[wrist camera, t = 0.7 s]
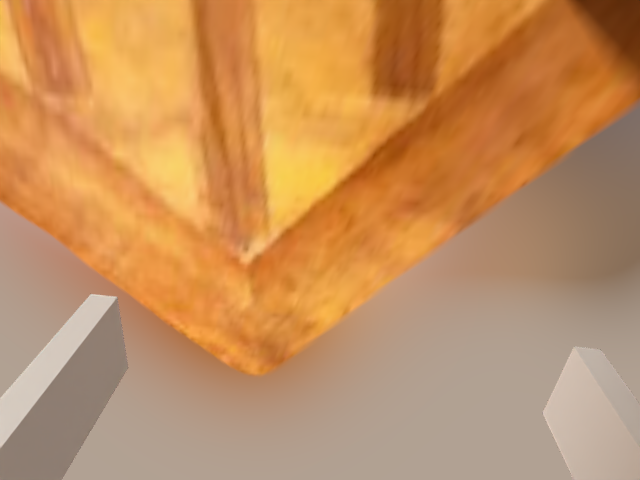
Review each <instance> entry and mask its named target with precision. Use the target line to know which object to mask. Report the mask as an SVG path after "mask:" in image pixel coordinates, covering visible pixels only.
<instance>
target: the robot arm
mask: <svg viewBox="0 0 640 480" xmlns="http://www.w3.org/2000/svg"><path fill="white" fill-rule="evenodd" d="M127 369H128V363H127V356H126V350H125V344H124V337H123V330H122V324H121V317H120V312H119V304H118V297H114V296H104V295H95V294H90V296H89V297H88V298H87V299H86V300H85V301H84V303H83V304H82V305H81V306H80V307H79V308H78V310H77V311H76V312H75V313H74V314H73V315H72V316H71V318H70V319H69V320H68V321H67V322H66V323H65V324H64V326H63V327H62V328H61V329H60V330H59V331H58V332H57V334H56V335H55V336H54V337H53V338H52V339H51V341H50V342H49V343H48V344H47V345H46V346H45V348H44V349H43V350H42V351H41V352H40V353H39V354H38V355H37V357H36V358H35V359H34V360H33V361H32V362H31V363H30V365H29V366H28V367H27V368H26V369H25V371H24V372H23V373H22V374H21V375H20V376H19V377H18V378H17V380H16V381H15V382H14V383H13V384H12V385H11V386H10V388H9V389H8V390H7V391H6V392H5V393H4V395H3V396H2V397H1V398H0V480H62V478H63V476H64V475H65V473H66V472H67V470H68V468H69V467H70V465H71V463H72V461H73V460H74V458H75V456H76V455H77V453H78V451H79V450H80V448H81V446H82V445H83V443H84V441H85V439H86V438H87V436H88V435H89V433H90V431H91V430H92V428H93V426H94V425H95V423H96V421H97V419H98V418H99V416H100V414H101V413H102V411H103V409H104V408H105V406H106V404H107V403H108V401H109V399H110V398H111V396H112V394H113V393H114V391H115V389H116V388H117V386H118V384H119V382H120V381H121V379H122V377H123V376H124V374H125V372H126V371H127ZM542 414H543V416H544V418H545V420H546V422H547V424H548V427H549V429H550V431H551V433H552V435H553V437H554V439H555V441H556V444H557V446H558V448H559V450H560V452H561V454H562V456H563V459H564V461H565V463H566V465H567V467H568V469H569V472H570V474H571V476H572V478H573V480H640V404H639V402H638V401H637V399H636V398H635V397H634V395H633V394H632V392H631V391H630V389H629V388H628V387H627V385H626V384H625V383H624V381H623V380H622V378H621V377H620V376H619V374H618V373H617V371H616V370H615V369H614V367H613V366H612V364H611V363H610V362H609V360H608V359H607V357H606V356H605V355H604V353H603V352H602V350H600V349H592V348H583V347H574V348H573V350H572V352H571V354H570V356H569V358H568V360H567V362H566V364H565V367H564V369H563V371H562V373H561V375H560V377H559V379H558V382H557V384H556V385H555V388H554V390H553V392H552V394H551V396H550V398H549V400H548V403H547V404H546V406H545V409H544V411H543V413H542Z"/></svg>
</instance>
